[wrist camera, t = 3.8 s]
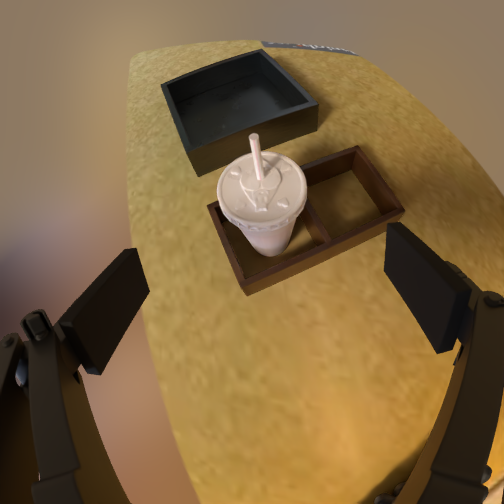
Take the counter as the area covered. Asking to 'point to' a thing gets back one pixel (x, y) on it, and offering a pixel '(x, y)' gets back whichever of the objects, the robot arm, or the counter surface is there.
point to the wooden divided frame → (325, 246)
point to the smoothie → (263, 197)
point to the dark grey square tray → (237, 109)
